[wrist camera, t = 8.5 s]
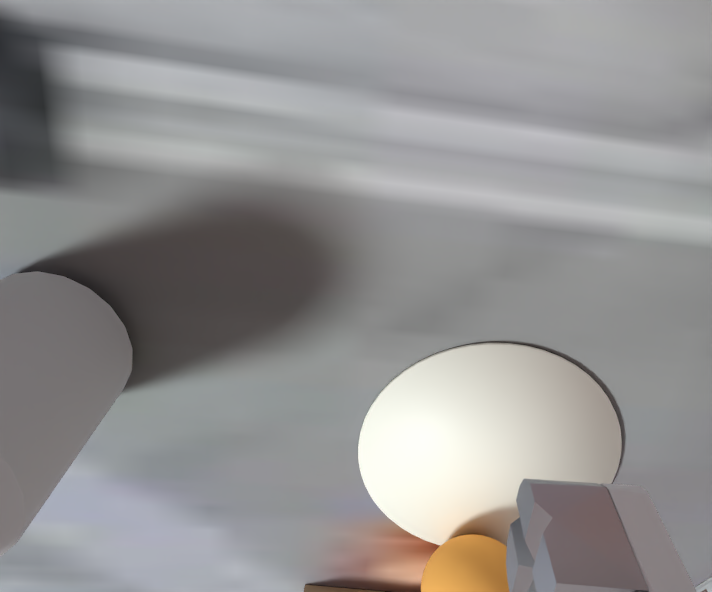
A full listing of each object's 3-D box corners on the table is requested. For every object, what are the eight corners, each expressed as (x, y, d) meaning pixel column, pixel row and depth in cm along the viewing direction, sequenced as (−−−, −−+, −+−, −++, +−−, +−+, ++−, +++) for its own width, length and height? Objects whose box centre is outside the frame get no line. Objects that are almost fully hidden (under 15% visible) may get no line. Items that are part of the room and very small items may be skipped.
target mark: (366, 331, 29) (366, 334, 28) (651, 353, 28) (652, 356, 28) (351, 537, 34) (351, 540, 34) (588, 558, 34) (589, 561, 34)
